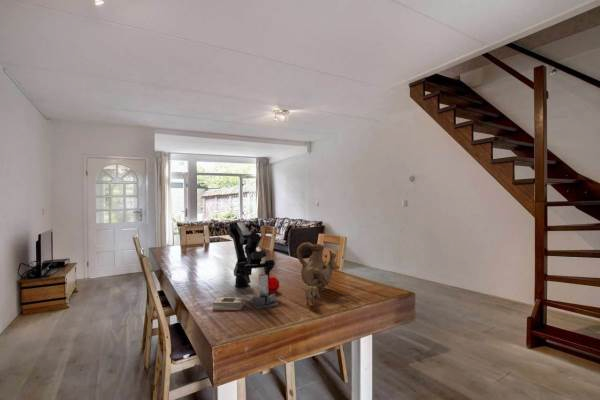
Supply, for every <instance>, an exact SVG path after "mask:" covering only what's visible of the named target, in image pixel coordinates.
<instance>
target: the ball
mask: <svg viewBox="0 0 600 400" xmlns="http://www.w3.org/2000/svg"><path fill="white" fill-rule="evenodd" d="M279 289H280V280H279V279H278V278H276V276H274V275H269V281H268V294H276V292H278V290H279Z"/></svg>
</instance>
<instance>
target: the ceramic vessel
mask: <svg viewBox="0 0 600 400" xmlns="http://www.w3.org/2000/svg"><path fill="white" fill-rule="evenodd" d="M324 247H325V245H324V244H319V243H314V244H313V243H312V242H309V241H307V242H302V243H300V245H299V246H298V247H297V249H296V257H297V259H298V261H299V263H300V264H301V265H302V268H301V270H300V274H301V275H300V276H301V279H302V282H303V283H304V284H305V285H307V287H308V286H312V287H314V286H316V287H317V288H318V290H319V292H322V291H324V290H325V289H326V288H325V287H326V286H328V285H329V284H330V283H331V281H332V277H333V271H335V270H339V269H340V266H339V265H338V264H337V263H336V261H335V259H336V257H337V254H336V253H333V251H331V250H329V251H328V252H329V261H328V262H327V263H325V262H324V260H323V252H324ZM305 248H309V249H310V250H311V255H309V259H308V262H307V261H305V259H304V258H303V256H302V252H303V249H305Z"/></svg>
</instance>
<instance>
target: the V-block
mask: <svg viewBox="0 0 600 400" xmlns="http://www.w3.org/2000/svg"><path fill="white" fill-rule="evenodd" d="M249 303H250V304H251V306H253V307H254V308H255V309H256V310H258V309H259V310H260V309H265V308H272V306H273V307H278V306H279V302H277V301H276V293H270V295H268V297H267V303H266V297H259V296H255V295H253V296H252V299H251V300H249Z"/></svg>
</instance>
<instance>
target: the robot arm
mask: <svg viewBox="0 0 600 400" xmlns="http://www.w3.org/2000/svg"><path fill="white" fill-rule="evenodd" d="M227 233H228V235H229V237H230V238H231V239H232V241H233V246H234V250H235V255H236V260H237V261H236V263H235V265H234V266H235V267H234V269H233V275H234V277H235V284H234V287H236V288H237V289H245V288H249V287H251V286H252V285H251V278H250V276H251V275H252V271H253V269H254V270H255V269H262V268H263V270H264V274H266V275H268V281H269V276H270V273H271V271H273V269H274V267H275V265H276V262H275V260H274V259H265V261H264V262H263V263H261V262H262V261H263V260H262V259H264V258H266V256H267V252H266V250H265V249H262V250H257V248H258V247H259V246H260V242H261V239H262V237H261V235H260V234H259V233H256V231H249V230H248V228H247V227H246V225H245V223H244V220H235V221H233V222H232V223H229V225H227Z"/></svg>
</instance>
